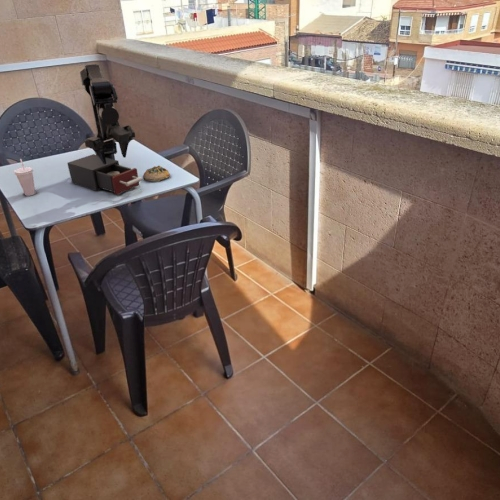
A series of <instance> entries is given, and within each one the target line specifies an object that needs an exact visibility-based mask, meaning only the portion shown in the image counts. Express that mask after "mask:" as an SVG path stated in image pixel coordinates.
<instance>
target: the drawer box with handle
mask: <svg viewBox="0 0 500 500" xmlns="http://www.w3.org/2000/svg"><path fill="white" fill-rule="evenodd" d="M105 158H106V157H105ZM113 164H117V165H120V163H119V160H116V159H115V160H113V159H109V158H106V164H103V162H102V161H101V159H100V158H99V156H98V155H96V154H95V153H93V154H90V155H86V156H84V157H81V158H78V159H74V160H71V161H69V162H67V168H68V171H69V176H70V180H71V183H72V184H74V185H77V186H80V187H83V188H86V189H89V190H92V191H95V192H99V191H100V190H104V189H103V188H100V187H97V182H96V177H95V172H94V171H97V170H100V169H102V168H105V167H108V166H111V165H113Z"/></svg>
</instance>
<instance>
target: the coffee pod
mask: <svg viewBox="0 0 500 500" xmlns="http://www.w3.org/2000/svg"><path fill="white" fill-rule="evenodd" d="M107 174H108V175H112V177H113V176H115V175H118V174H120V172H118V171H112V172H108V173H107Z"/></svg>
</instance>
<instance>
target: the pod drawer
mask: <svg viewBox="0 0 500 500" xmlns="http://www.w3.org/2000/svg"><path fill="white" fill-rule="evenodd" d="M112 171H118V172H120V174H118V175H115V176H113V177H112V175H108V174H107V173H108V172H112ZM94 172H95V177H96V182H97V187H100V188H103V189H102V190H106V191H110V192H113V193H114V195H120V194H122V193H124V192H126V191H129V190H131V189H133V188H135V187H138V186H140V182H142V181H143V176H142V177H141V176H139V174H138V169H137V167H134V168H130V167H128V166H123V165H120V164H119V165H117V164H113V165H111V166H108V167H105V168H102V169H100V170H97V171H94Z"/></svg>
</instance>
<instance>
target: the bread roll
mask: <svg viewBox="0 0 500 500" xmlns="http://www.w3.org/2000/svg"><path fill="white" fill-rule="evenodd" d="M142 178H143V180H145V181H148V182H161V181H164V180H165V179H169V178H170V171H169V170H168V169H167V168H166V167H163V166H160V165H157V166H153V167H151V168H148V169H146V170H145V172H144V173H143V175H142Z"/></svg>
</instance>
